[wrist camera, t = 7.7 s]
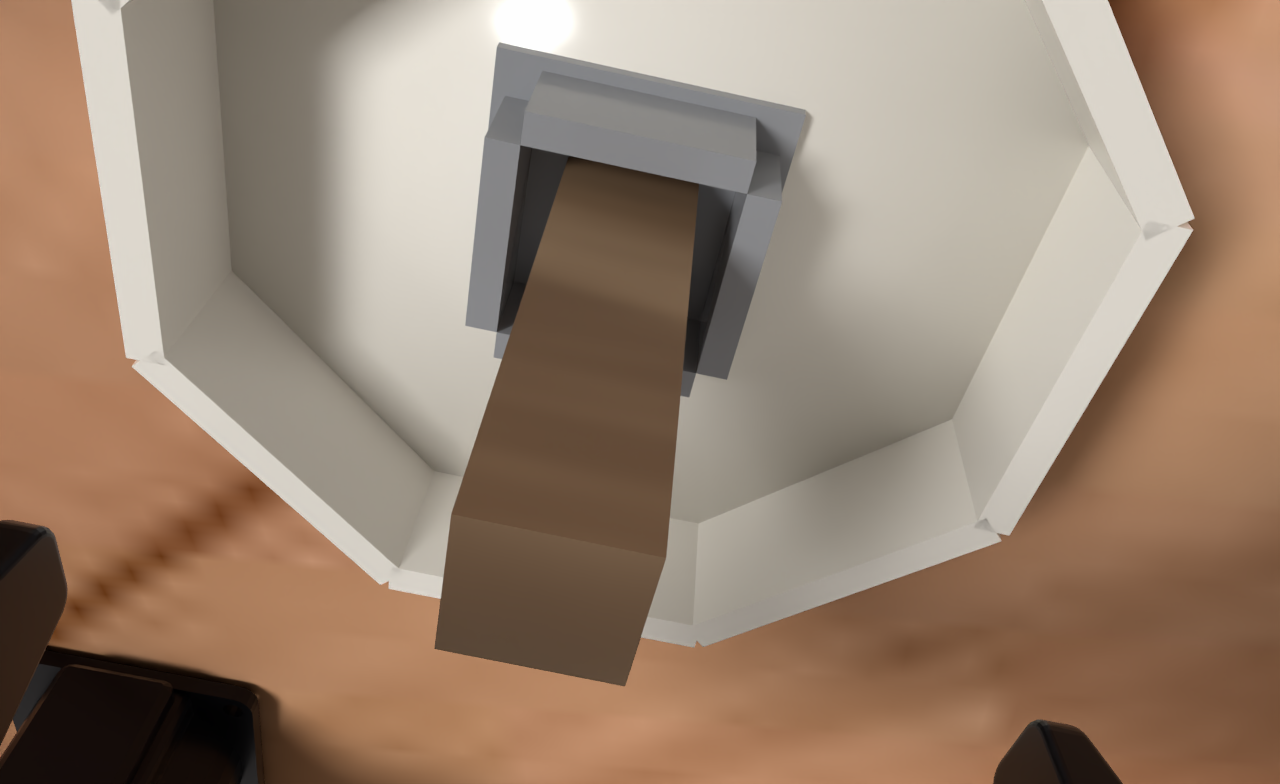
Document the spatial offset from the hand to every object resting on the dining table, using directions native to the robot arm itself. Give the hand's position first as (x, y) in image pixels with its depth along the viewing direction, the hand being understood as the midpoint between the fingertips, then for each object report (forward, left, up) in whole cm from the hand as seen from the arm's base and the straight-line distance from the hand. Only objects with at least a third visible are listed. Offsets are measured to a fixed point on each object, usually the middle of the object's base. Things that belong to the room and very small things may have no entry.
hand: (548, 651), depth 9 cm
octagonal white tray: (0, 0, -9) cm, 9 cm away
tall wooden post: (0, 0, -9) cm, 9 cm away
